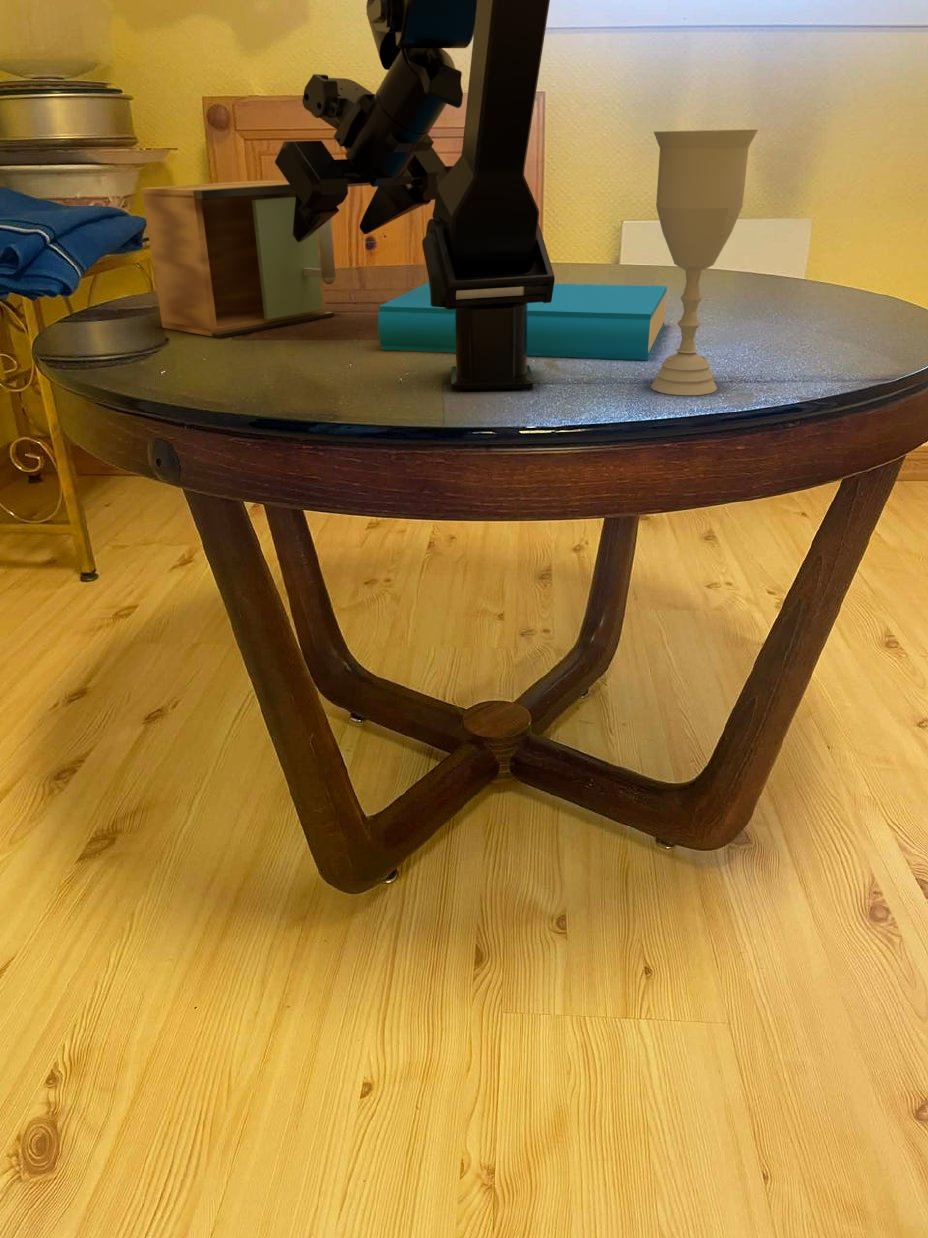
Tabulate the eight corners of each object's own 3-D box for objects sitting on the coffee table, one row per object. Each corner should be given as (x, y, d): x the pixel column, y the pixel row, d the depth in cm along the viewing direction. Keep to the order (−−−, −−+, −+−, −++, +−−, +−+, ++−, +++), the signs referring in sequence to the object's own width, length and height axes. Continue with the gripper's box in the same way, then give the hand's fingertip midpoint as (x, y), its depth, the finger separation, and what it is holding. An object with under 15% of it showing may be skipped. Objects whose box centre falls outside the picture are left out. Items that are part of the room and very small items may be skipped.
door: (349, 313, 105) (341, 195, 100) (294, 324, 99) (283, 200, 94) (319, 309, 108) (310, 194, 102) (264, 319, 102) (251, 199, 97)
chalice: (747, 386, 76) (776, 129, 68) (701, 403, 72) (727, 130, 64) (667, 372, 81) (685, 130, 73) (619, 388, 76) (633, 131, 68)
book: (428, 280, 104) (667, 281, 98) (430, 322, 106) (664, 325, 100) (375, 307, 89) (652, 310, 83) (378, 355, 91) (650, 361, 85)
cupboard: (334, 315, 108) (324, 181, 102) (220, 338, 98) (201, 190, 92) (276, 307, 114) (263, 179, 108) (162, 327, 103) (141, 187, 97)
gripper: (424, 45, 95) (353, 169, 107) (277, 35, 83) (214, 176, 94) (488, 134, 94) (409, 249, 106) (348, 137, 82) (276, 268, 93)
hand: (330, 234), depth 100 cm, fingers open, 9 cm apart
